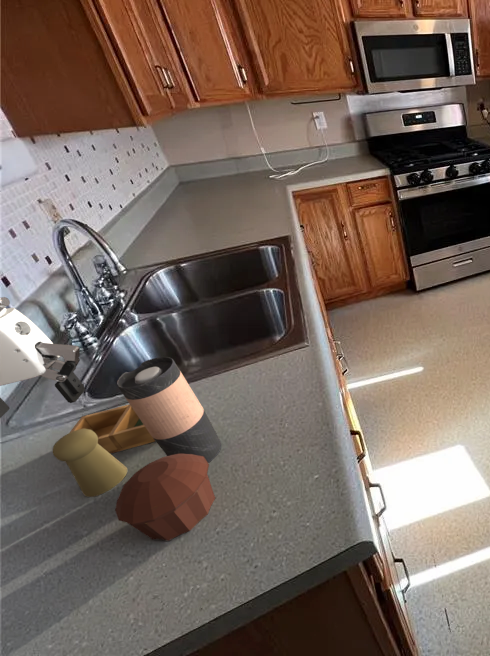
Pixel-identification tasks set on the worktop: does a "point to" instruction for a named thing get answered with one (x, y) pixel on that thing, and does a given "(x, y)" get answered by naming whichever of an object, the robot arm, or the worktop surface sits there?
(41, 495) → the worktop surface
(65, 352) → the robot arm
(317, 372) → the worktop surface
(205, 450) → the travel mug
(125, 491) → the muffin
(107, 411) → the tray
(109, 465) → the cork
